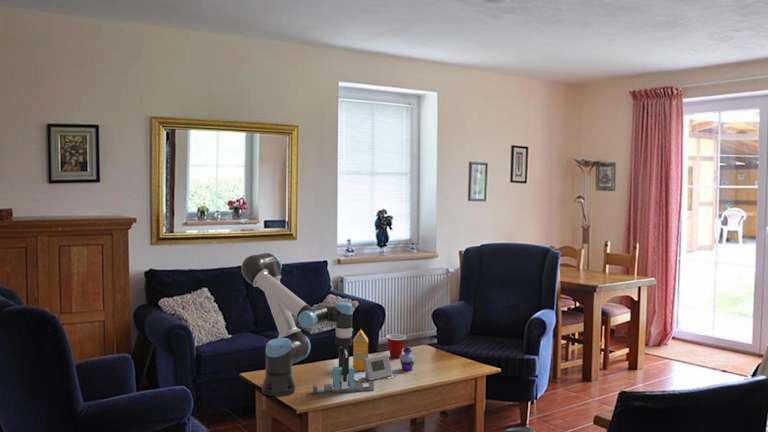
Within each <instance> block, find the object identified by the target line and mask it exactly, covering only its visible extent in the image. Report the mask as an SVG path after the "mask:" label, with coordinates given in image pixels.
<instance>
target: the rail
mask: <svg viewBox="0 0 768 432" xmlns="http://www.w3.org/2000/svg"><path fill="white" fill-rule="evenodd" d="M363 385H364V384H363V382H362V381H354V388H349V387H348V388H347V389H342V388H341V383H339V389H334V387H333V383H324V384H323V389H318V384H312V394H313V395H323V394H326V395H327V394H339V393H354V392H356V393H357V392H367V391H368V392H370V391H375V388H374V387H375V383H374V380H371V381H368V386H363Z"/></svg>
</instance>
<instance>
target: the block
mask: <svg viewBox="0 0 768 432" xmlns="http://www.w3.org/2000/svg"><path fill="white" fill-rule="evenodd" d="M341 374H342V367H338V366H334V367H332V385H333V389H339V381H342V375H341ZM354 382H355V371H354V368H353V365H349V374H348V388H354Z"/></svg>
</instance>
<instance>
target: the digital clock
mask: <svg viewBox="0 0 768 432" xmlns="http://www.w3.org/2000/svg"><path fill="white" fill-rule="evenodd" d="M389 356H390V355H388V353H383V354H377V355H376V354H375V355H373V356H368V358H365V359H364V360H363V362H364V366H365V371H364V372H365V378H366V377H367V378H366V380H367V381H368V380H369V381H376V380H375V379H377V380H380V379H379V378H381V379H384V378H383V377H385V378H388V377H391V376H392V375H393V370H392V366H391V363H390V362H391V361H390V357H389ZM369 381H368V382H369Z"/></svg>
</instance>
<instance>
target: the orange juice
mask: <svg viewBox="0 0 768 432" xmlns="http://www.w3.org/2000/svg"><path fill="white" fill-rule="evenodd" d="M352 346H353V349H352V350H353V352H352V353H353V354H352V359H353V361H352V366H353V368H354V370H365V366H364V362H363V360H364V359H365V358H369V338H368V337H367V335H366V334H365V333H364V331H363V330H362V328H360V330H359V331H358V332H357V333H356V334H355V336H354V338H352Z"/></svg>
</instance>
